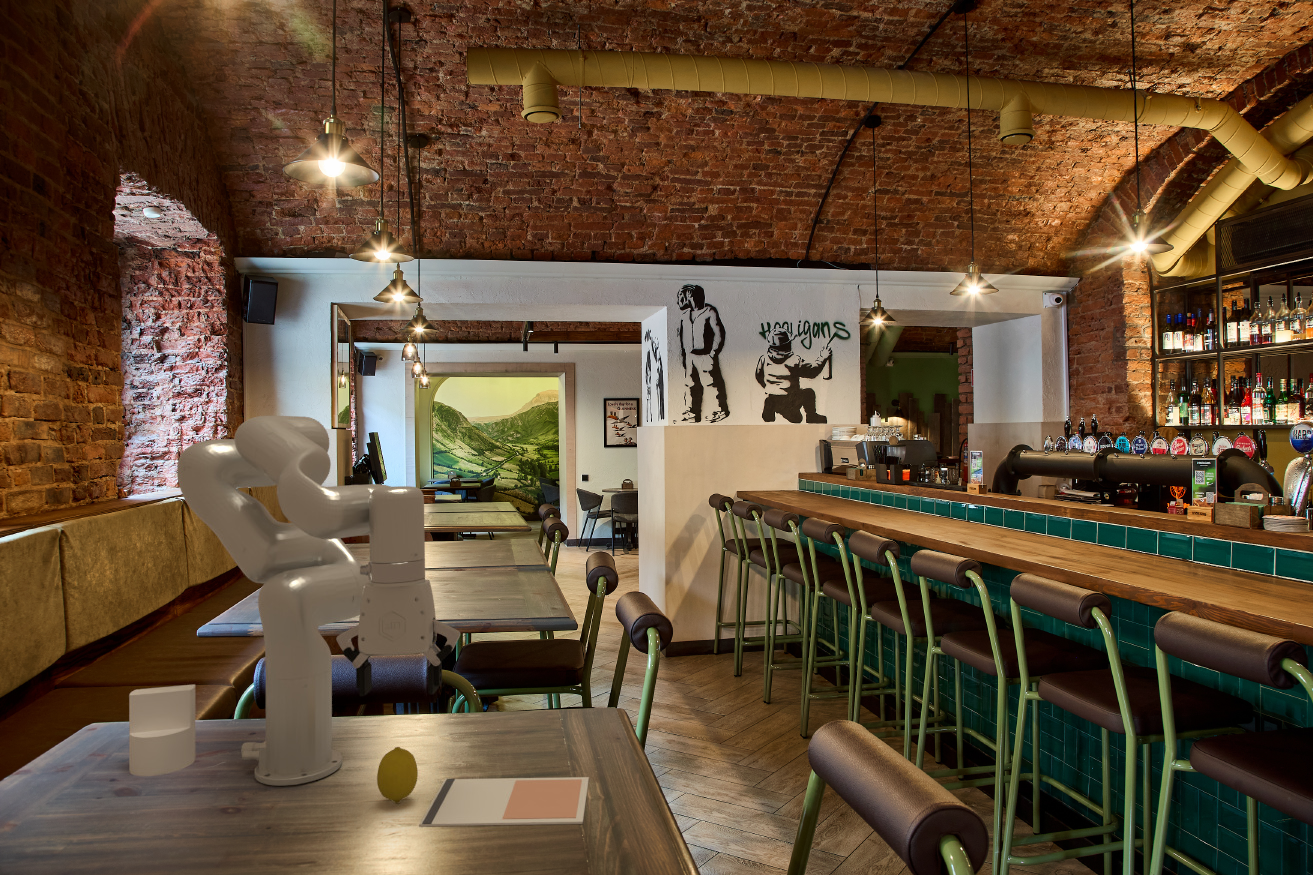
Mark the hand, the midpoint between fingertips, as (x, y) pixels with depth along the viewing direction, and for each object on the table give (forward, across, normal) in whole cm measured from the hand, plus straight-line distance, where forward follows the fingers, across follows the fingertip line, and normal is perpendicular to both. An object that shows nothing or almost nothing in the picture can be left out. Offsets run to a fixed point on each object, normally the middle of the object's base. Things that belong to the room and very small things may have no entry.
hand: (399, 692), depth 112 cm
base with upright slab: (+15, -43, +15) cm, 48 cm away
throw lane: (+16, +15, 0) cm, 22 cm away
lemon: (+16, -1, 0) cm, 16 cm away
